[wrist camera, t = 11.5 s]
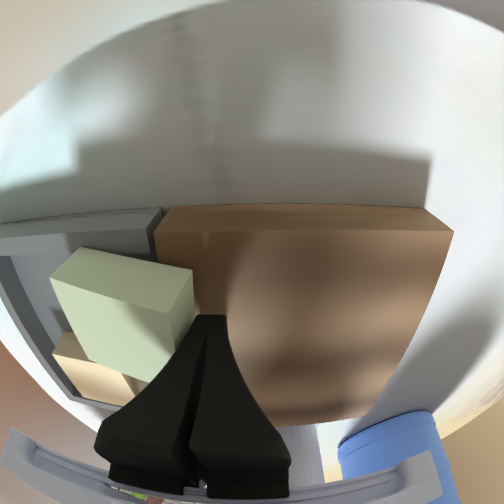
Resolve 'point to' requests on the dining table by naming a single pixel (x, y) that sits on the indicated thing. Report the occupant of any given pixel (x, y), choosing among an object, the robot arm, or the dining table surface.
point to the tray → (49, 259)
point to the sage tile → (125, 309)
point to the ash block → (94, 374)
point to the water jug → (398, 450)
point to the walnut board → (310, 295)
